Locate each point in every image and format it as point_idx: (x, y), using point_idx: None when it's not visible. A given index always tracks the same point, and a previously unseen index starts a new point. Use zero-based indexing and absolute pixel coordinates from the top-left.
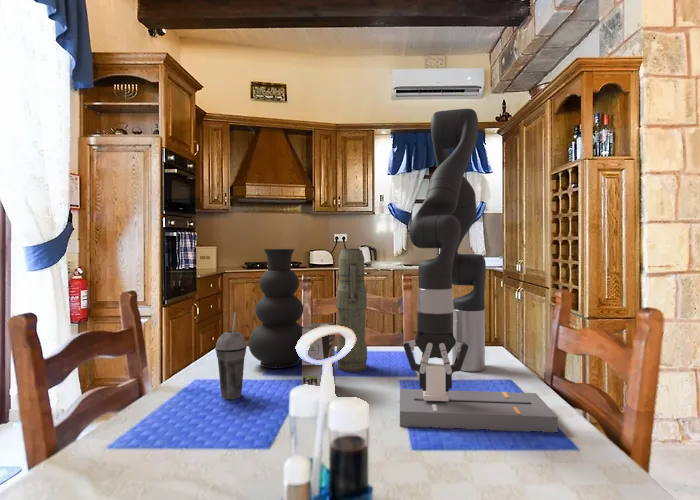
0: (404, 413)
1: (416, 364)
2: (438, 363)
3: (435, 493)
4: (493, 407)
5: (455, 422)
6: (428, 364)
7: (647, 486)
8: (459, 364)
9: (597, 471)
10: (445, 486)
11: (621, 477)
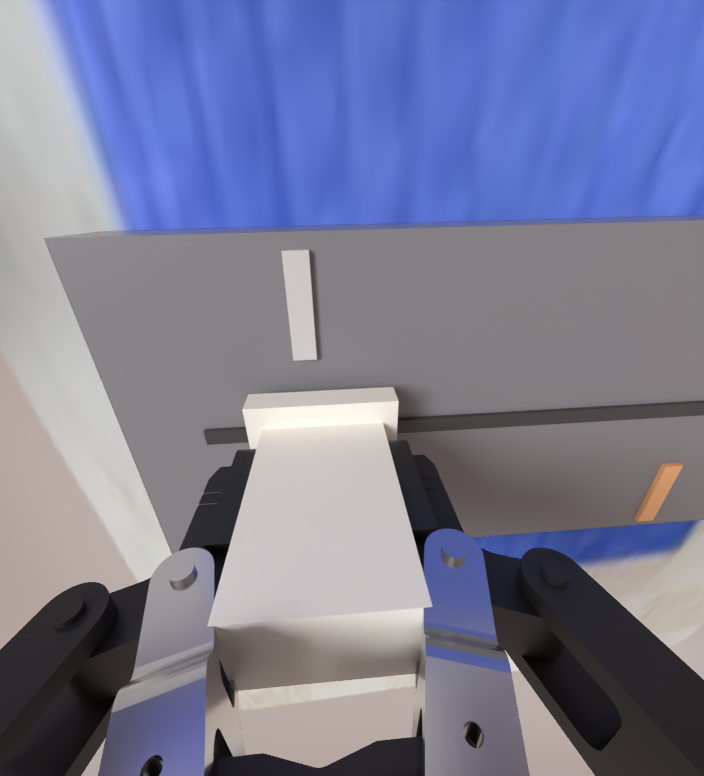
0: None
1: (119, 680)
2: (363, 619)
3: (317, 698)
4: (582, 469)
5: None
6: (250, 656)
7: (679, 634)
8: (565, 688)
9: (636, 614)
10: (335, 685)
11: (662, 622)
